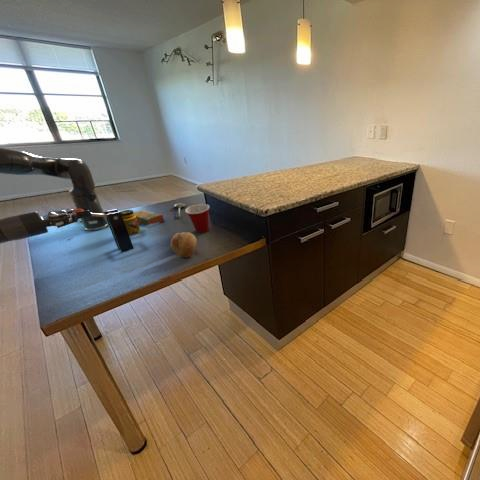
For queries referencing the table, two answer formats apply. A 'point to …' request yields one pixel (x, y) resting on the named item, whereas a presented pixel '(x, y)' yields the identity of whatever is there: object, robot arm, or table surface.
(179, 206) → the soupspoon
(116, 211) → the black tall block
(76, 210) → the tap lever
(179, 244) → the bread roll
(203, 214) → the plastic cup
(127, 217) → the condiment
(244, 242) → the table surface
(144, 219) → the carton
